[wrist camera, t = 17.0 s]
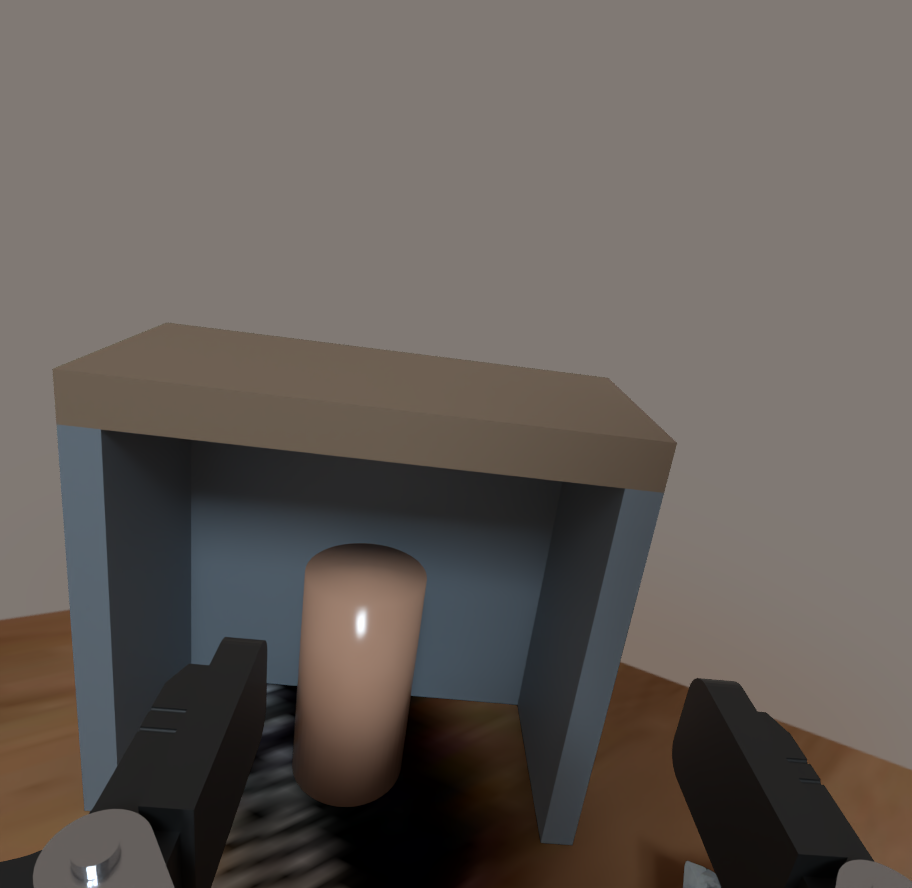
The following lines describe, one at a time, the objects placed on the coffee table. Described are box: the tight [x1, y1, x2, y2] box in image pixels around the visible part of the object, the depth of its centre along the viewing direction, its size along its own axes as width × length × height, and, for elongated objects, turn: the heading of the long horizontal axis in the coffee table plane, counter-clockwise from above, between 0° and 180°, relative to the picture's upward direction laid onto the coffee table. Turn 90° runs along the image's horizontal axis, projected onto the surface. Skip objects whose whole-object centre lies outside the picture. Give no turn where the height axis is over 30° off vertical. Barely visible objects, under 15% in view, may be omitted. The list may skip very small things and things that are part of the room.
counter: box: [53, 323, 677, 845], centre depth 31 cm, size 22×10×20 cm, turn 92°
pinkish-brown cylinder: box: [292, 543, 427, 807], centre depth 31 cm, size 6×6×11 cm
